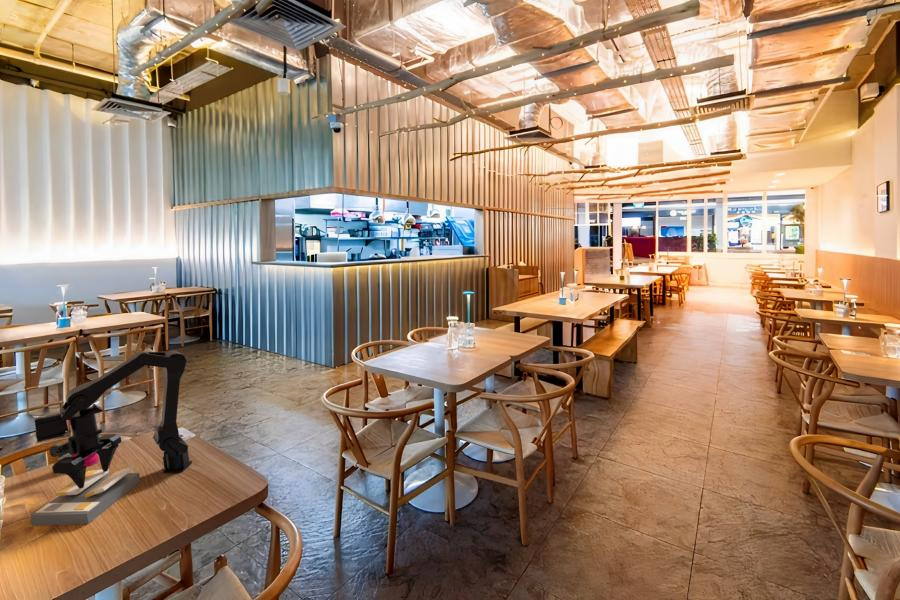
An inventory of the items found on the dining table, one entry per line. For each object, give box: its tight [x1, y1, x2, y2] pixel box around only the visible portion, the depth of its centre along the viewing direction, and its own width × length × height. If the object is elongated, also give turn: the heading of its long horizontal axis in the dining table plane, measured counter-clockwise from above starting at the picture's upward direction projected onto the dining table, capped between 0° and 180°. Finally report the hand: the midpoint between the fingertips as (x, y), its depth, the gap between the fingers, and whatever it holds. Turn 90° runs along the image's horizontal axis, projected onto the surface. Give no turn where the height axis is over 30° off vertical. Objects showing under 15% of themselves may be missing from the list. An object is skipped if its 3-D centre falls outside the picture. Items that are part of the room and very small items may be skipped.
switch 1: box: [55, 468, 110, 497], centre depth 130 cm, size 6×12×1 cm, turn 1°
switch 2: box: [84, 465, 135, 498], centre depth 130 cm, size 6×12×1 cm, turn 179°
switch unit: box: [30, 472, 141, 527], centre depth 127 cm, size 15×20×4 cm
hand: (93, 479), depth 130 cm, fingers open, 9 cm apart
